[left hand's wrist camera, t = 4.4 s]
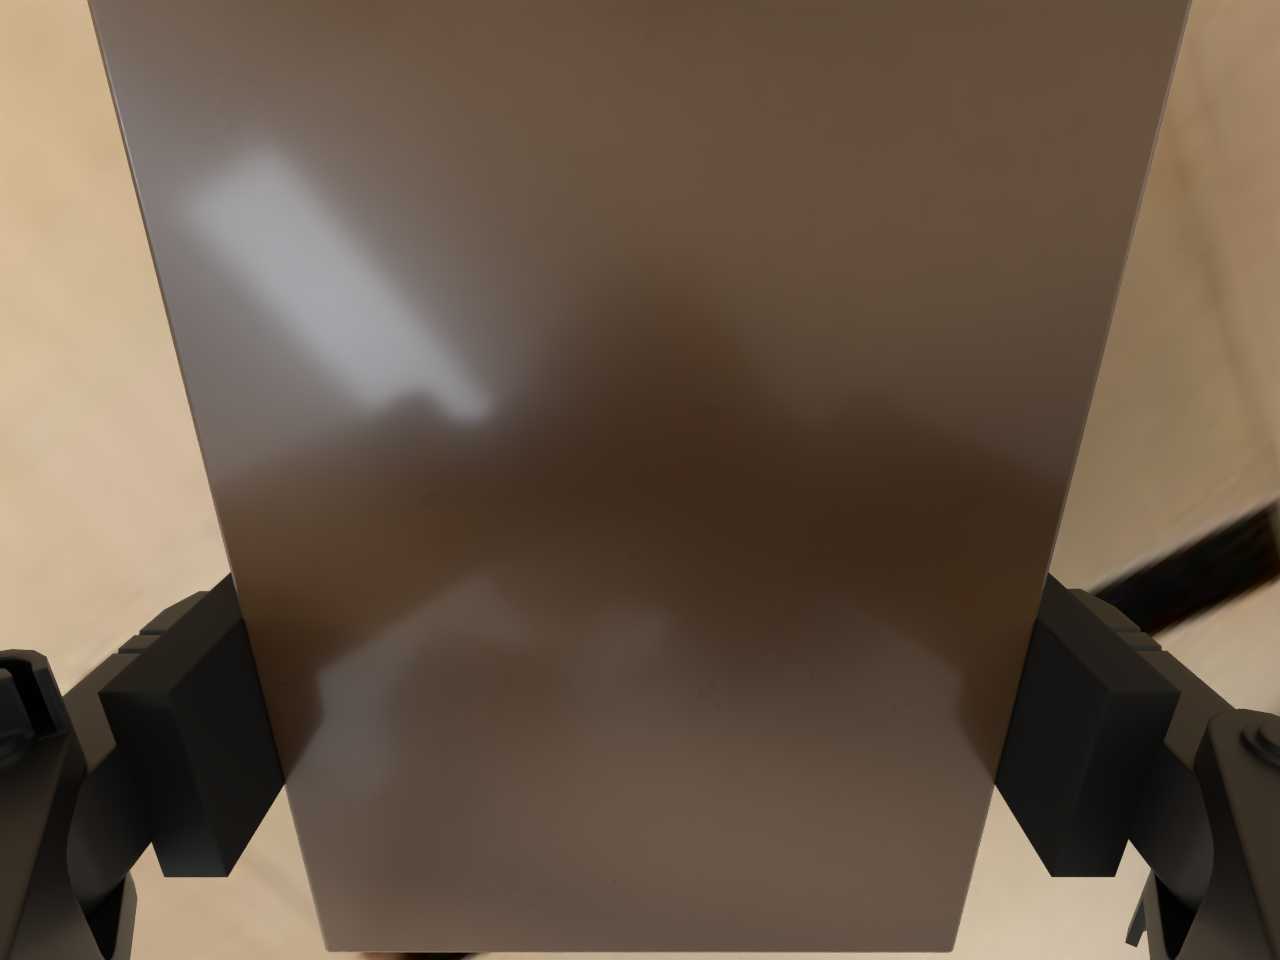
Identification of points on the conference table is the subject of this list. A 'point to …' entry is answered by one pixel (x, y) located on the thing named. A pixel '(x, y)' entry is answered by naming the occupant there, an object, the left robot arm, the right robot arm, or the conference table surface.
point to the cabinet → (639, 432)
